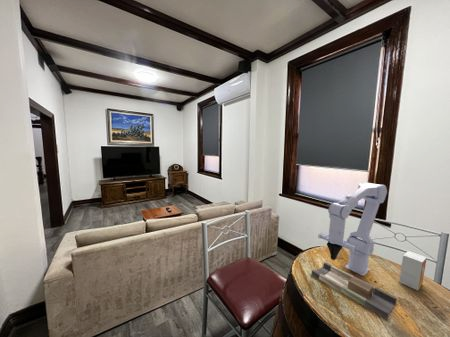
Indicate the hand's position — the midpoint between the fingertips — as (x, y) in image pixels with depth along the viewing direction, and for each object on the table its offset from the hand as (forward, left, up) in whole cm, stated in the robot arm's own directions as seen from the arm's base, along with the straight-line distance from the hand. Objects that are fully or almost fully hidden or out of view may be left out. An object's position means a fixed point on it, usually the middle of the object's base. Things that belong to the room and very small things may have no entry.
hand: (333, 258), depth 83 cm
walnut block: (0, +11, -9) cm, 14 cm away
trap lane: (0, +7, -9) cm, 12 cm away
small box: (-28, +22, -10) cm, 37 cm away
